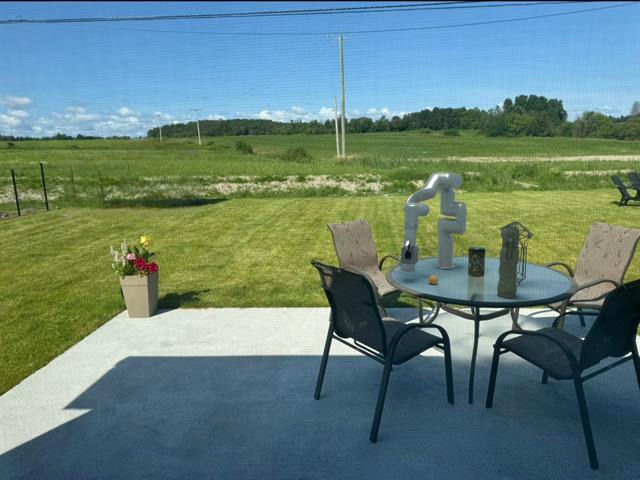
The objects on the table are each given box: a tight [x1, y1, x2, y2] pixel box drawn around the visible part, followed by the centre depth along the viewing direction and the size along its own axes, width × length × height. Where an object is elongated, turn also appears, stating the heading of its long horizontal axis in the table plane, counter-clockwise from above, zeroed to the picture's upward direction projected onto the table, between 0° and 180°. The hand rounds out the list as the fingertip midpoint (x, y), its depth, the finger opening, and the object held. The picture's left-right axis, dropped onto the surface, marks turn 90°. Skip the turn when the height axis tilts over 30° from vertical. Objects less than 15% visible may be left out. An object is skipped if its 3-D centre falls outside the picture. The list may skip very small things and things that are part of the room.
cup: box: [398, 257, 416, 272], centre depth 281 cm, size 7×10×9 cm
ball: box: [428, 274, 439, 285], centre depth 248 cm, size 5×5×5 cm
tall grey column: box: [496, 226, 521, 299], centre depth 224 cm, size 9×12×35 cm
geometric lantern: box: [498, 221, 534, 286], centre depth 247 cm, size 16×16×35 cm
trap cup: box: [400, 245, 419, 266], centre depth 252 cm, size 8×8×9 cm
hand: (409, 257), depth 252 cm, fingers closed on trap cup, 7 cm apart
